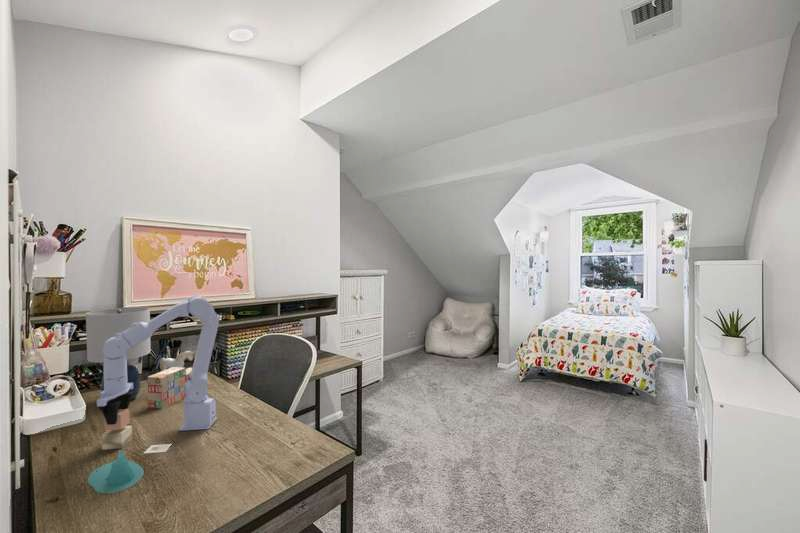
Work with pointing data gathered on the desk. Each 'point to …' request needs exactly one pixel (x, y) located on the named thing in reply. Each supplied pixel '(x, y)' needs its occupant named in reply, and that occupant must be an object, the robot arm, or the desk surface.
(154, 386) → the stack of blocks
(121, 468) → the teal plastic funnel
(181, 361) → the unicorn figurine
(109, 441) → the birch base block
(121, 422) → the terracotta cube
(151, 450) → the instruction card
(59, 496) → the desk surface
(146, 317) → the lamp
